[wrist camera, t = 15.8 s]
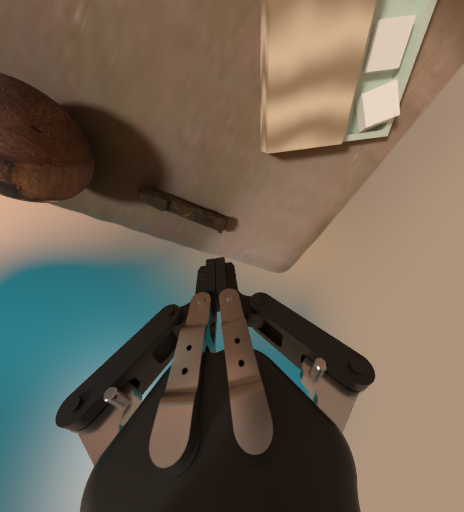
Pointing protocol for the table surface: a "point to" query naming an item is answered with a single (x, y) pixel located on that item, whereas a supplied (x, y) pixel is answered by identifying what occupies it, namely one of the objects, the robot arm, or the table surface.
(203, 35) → the table surface
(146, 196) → the hand tool
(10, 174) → the wooden sphere
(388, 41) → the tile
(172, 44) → the table surface
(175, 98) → the table surface
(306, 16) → the light wood flat block
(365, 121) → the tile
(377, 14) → the tray
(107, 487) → the robot arm
